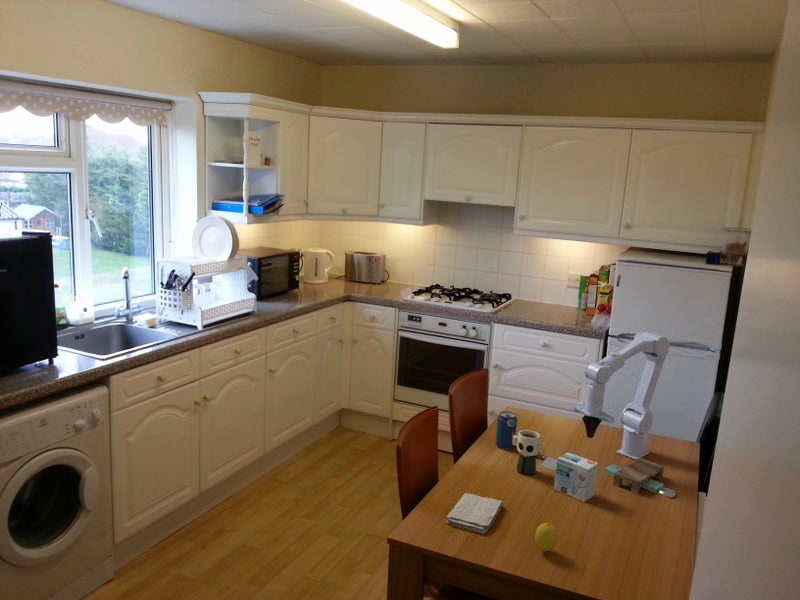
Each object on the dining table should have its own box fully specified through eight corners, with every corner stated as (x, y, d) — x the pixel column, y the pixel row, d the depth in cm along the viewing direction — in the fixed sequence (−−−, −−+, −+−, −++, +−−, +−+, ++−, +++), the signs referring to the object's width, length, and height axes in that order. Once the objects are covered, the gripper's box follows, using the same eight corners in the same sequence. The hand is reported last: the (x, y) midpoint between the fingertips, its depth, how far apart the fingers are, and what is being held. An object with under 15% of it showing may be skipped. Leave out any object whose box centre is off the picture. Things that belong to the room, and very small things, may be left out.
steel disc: (662, 489, 209) (662, 486, 208) (677, 495, 205) (678, 492, 205) (654, 494, 205) (655, 490, 205) (670, 500, 202) (670, 496, 201)
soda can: (516, 450, 231) (519, 418, 229) (496, 449, 231) (499, 417, 229) (513, 442, 238) (516, 411, 236) (493, 441, 238) (496, 410, 236)
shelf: (639, 469, 222) (641, 458, 221) (662, 478, 216) (664, 466, 215) (613, 484, 209) (614, 472, 209) (636, 494, 204) (638, 482, 203)
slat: (612, 468, 222) (612, 463, 222) (663, 489, 209) (664, 484, 209) (603, 473, 218) (604, 468, 218) (655, 494, 206) (656, 489, 205)
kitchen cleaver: (512, 457, 225) (524, 446, 233) (511, 459, 225) (523, 449, 233) (581, 479, 211) (591, 467, 220) (581, 482, 212) (591, 470, 220)
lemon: (531, 545, 172) (534, 517, 170) (551, 545, 172) (554, 517, 171) (537, 557, 167) (540, 528, 165) (558, 557, 167) (561, 529, 165)
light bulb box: (552, 489, 204) (556, 457, 202) (563, 483, 209) (567, 451, 207) (584, 502, 197) (588, 469, 195) (594, 495, 202) (599, 462, 199)
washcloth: (444, 526, 180) (445, 516, 179) (463, 498, 196) (464, 488, 196) (486, 537, 175) (487, 526, 175) (502, 507, 192) (503, 497, 191)
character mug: (506, 470, 215) (509, 433, 212) (514, 463, 221) (517, 426, 218) (538, 480, 210) (542, 441, 207) (545, 472, 216) (549, 434, 213)
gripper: (569, 395, 223) (565, 432, 225) (608, 407, 212) (603, 447, 215) (580, 391, 227) (576, 428, 230) (619, 403, 217) (614, 441, 220)
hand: (590, 437), depth 223 cm, fingers closed
